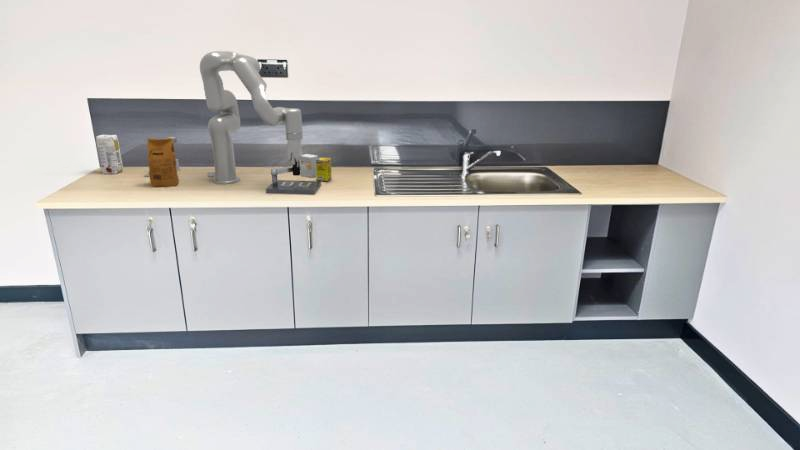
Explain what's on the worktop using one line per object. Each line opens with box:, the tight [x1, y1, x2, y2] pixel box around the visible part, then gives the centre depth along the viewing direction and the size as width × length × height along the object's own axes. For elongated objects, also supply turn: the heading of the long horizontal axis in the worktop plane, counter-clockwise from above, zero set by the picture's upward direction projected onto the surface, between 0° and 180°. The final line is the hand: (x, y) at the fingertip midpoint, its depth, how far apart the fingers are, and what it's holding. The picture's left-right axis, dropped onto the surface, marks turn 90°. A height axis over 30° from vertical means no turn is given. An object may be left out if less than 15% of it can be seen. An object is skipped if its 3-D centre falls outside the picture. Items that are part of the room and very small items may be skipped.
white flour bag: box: [95, 134, 124, 175], centre depth 251 cm, size 8×9×19 cm
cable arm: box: [270, 163, 311, 176], centre depth 236 cm, size 20×3×2 cm, turn 133°
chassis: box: [265, 175, 322, 196], centre depth 232 cm, size 22×16×6 cm
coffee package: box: [147, 137, 180, 188], centre depth 232 cm, size 10×12×22 cm
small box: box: [300, 153, 319, 179], centre depth 255 cm, size 8×6×10 cm
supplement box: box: [316, 157, 332, 183], centre depth 247 cm, size 6×6×11 cm
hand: (296, 175), depth 235 cm, fingers closed
